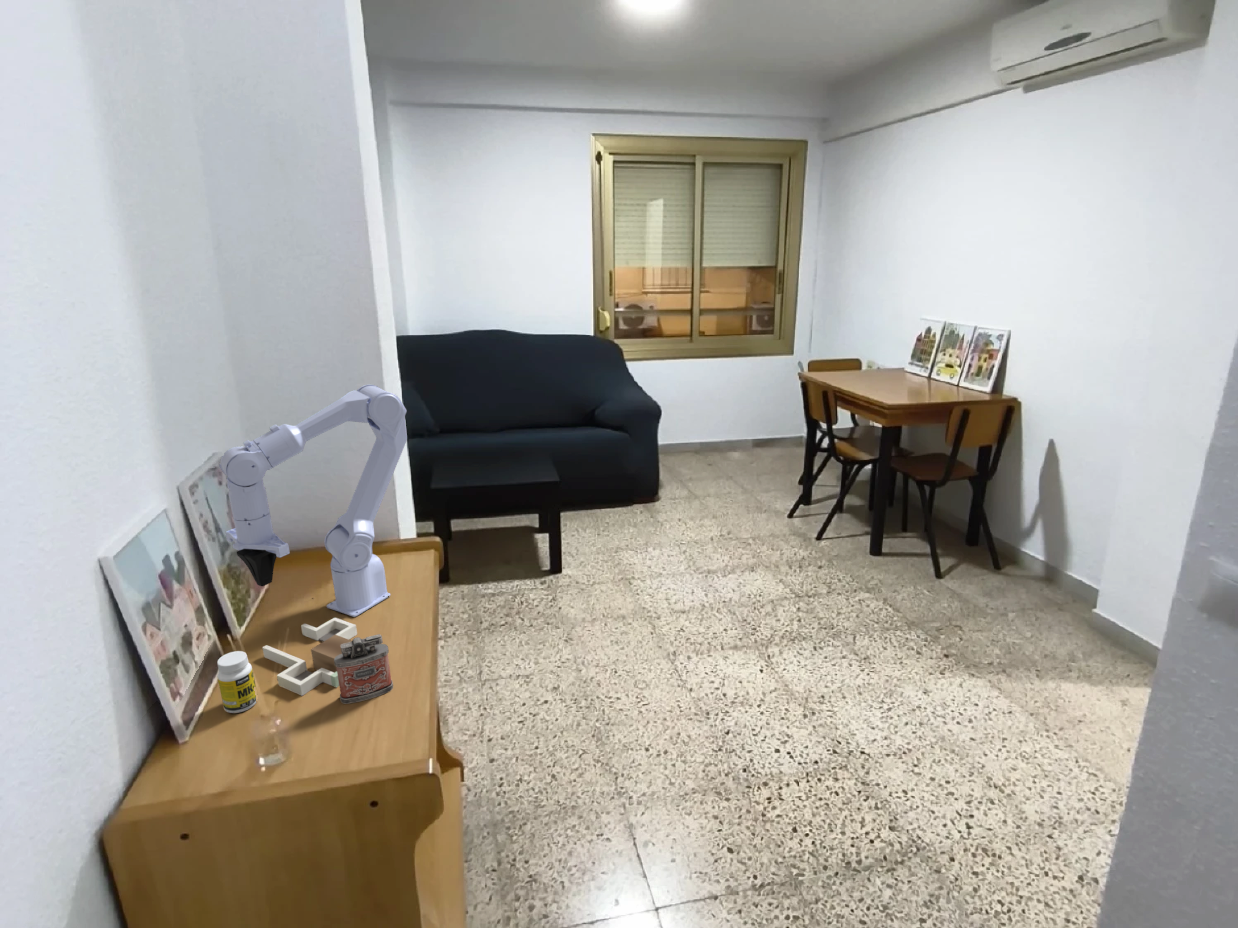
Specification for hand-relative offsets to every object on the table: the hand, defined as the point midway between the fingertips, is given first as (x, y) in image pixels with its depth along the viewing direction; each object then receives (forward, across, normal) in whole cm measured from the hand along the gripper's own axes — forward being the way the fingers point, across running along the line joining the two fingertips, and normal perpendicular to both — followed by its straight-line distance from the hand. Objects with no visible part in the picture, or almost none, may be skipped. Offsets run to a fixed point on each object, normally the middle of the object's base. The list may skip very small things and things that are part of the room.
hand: (264, 583), depth 121 cm
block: (+10, +19, -2) cm, 22 cm away
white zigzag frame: (+10, +15, -2) cm, 18 cm away
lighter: (+10, +30, -5) cm, 32 cm away
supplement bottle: (+10, +14, -16) cm, 24 cm away
